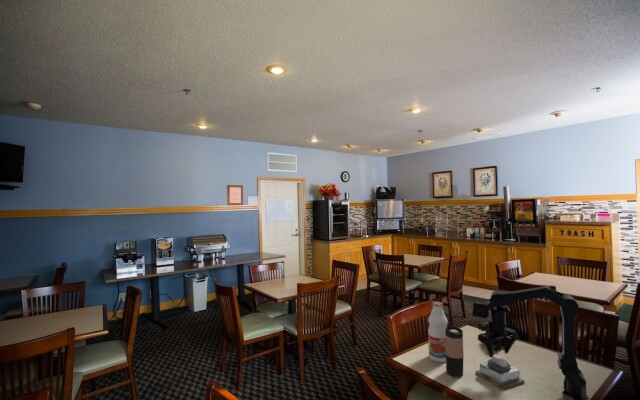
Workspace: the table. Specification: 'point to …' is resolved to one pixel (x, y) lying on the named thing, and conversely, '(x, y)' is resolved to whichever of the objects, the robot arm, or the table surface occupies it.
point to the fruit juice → (437, 333)
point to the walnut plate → (503, 386)
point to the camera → (497, 342)
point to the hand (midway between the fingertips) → (498, 355)
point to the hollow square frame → (500, 374)
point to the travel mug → (454, 351)
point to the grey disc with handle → (499, 364)
